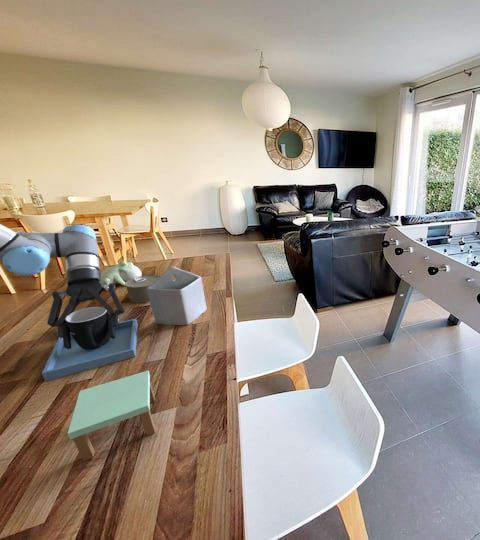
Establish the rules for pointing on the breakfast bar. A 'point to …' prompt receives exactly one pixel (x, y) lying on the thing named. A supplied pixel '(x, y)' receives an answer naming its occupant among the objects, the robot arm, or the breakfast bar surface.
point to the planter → (177, 297)
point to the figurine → (120, 273)
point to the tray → (92, 352)
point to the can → (140, 288)
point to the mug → (89, 327)
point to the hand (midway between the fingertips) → (91, 342)
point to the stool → (111, 408)
